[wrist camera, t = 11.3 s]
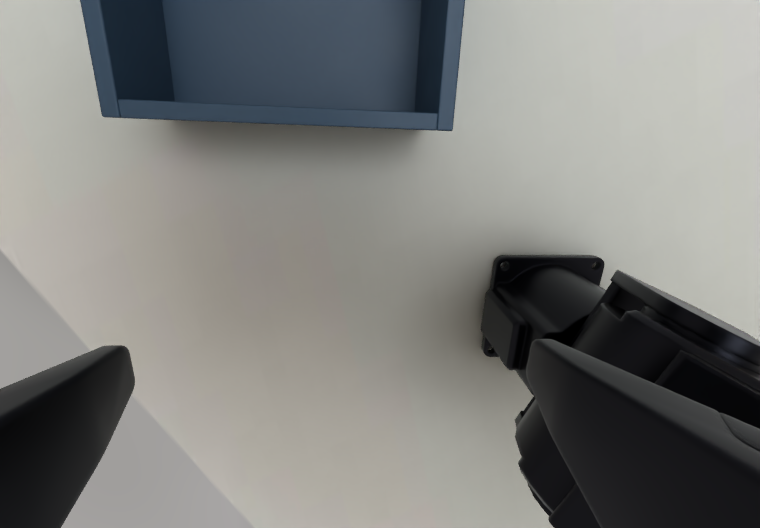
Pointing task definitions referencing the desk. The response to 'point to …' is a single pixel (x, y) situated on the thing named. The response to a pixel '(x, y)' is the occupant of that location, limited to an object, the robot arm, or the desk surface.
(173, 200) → the desk surface
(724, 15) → the desk surface
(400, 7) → the bin
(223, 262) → the desk surface
